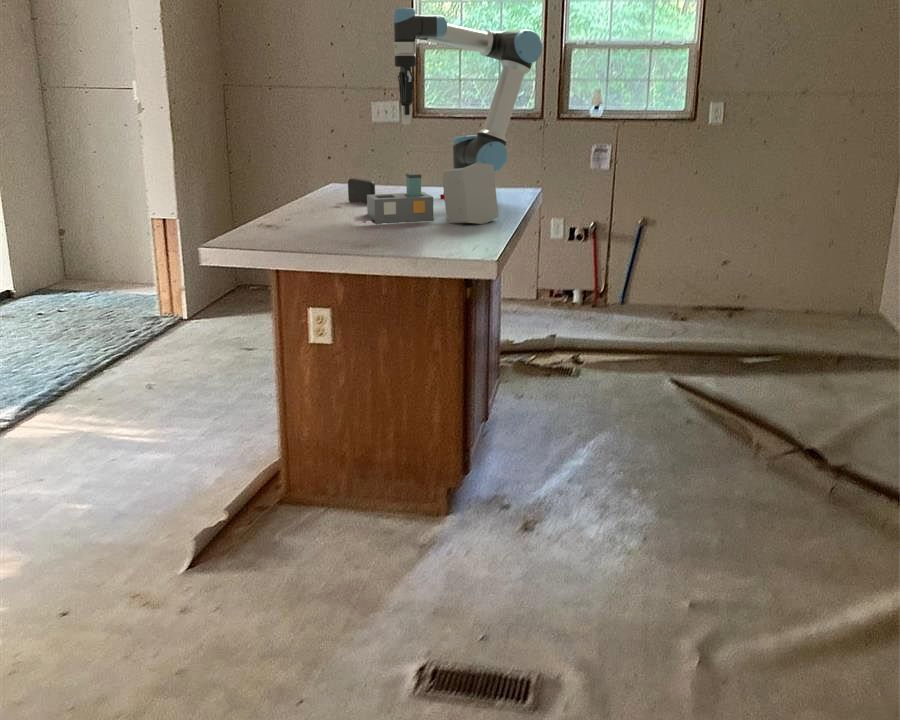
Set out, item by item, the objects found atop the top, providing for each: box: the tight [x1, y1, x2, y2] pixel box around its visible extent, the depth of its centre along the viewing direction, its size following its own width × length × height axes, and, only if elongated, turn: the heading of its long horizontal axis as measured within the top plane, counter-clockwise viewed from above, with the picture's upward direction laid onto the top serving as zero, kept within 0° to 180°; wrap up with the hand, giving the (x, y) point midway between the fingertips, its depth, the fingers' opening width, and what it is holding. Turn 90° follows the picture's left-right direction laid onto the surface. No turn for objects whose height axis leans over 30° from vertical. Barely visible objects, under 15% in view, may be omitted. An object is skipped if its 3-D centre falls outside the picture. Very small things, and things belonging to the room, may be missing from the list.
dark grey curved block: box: [347, 177, 376, 204], centre depth 331 cm, size 16×5×9 cm, turn 39°
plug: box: [405, 172, 422, 197], centre depth 301 cm, size 4×4×14 cm
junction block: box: [366, 191, 434, 225], centre depth 301 cm, size 20×12×8 cm, turn 107°
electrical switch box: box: [439, 163, 499, 225], centre depth 297 cm, size 14×15×20 cm
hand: (406, 124), depth 321 cm, fingers closed
